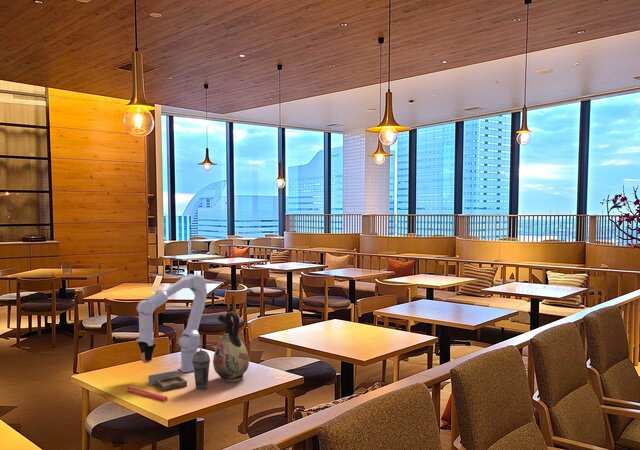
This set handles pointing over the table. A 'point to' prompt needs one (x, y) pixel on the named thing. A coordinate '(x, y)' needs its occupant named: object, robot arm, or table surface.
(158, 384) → the tray
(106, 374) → the table surface
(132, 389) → the pink long bar
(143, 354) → the ball
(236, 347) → the ceramic jug
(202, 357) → the beverage cup
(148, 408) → the table surface
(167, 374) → the partition
